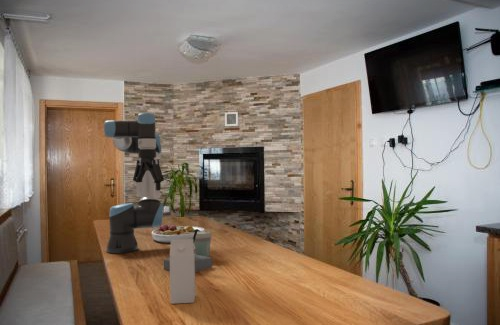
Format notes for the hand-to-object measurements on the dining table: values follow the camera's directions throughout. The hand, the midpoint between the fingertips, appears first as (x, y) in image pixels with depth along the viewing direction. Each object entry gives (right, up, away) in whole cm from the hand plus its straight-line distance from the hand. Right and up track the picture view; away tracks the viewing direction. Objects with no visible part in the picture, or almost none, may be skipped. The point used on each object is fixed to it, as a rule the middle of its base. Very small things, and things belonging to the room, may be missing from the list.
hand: (148, 197), depth 168 cm
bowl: (+3, -29, +55) cm, 62 cm away
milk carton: (+23, -28, -46) cm, 59 cm away
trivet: (+19, -28, -10) cm, 35 cm away
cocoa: (+19, -24, -10) cm, 32 cm away
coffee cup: (+23, -28, +5) cm, 37 cm away
